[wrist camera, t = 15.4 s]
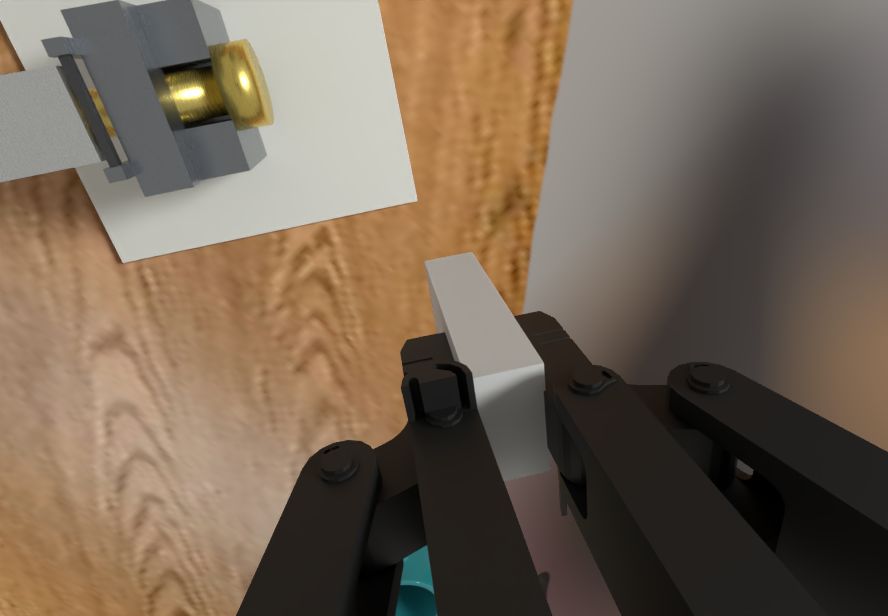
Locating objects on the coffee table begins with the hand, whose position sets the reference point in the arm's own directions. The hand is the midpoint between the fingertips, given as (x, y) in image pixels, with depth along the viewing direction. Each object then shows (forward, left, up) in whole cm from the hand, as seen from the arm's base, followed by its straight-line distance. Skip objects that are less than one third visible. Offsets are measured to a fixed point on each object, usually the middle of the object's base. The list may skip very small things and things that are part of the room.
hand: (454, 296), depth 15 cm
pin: (-7, -14, -25) cm, 30 cm away
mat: (-7, -11, -29) cm, 32 cm away
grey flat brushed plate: (-7, -16, -18) cm, 26 cm away
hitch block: (-7, -13, -29) cm, 32 cm away
